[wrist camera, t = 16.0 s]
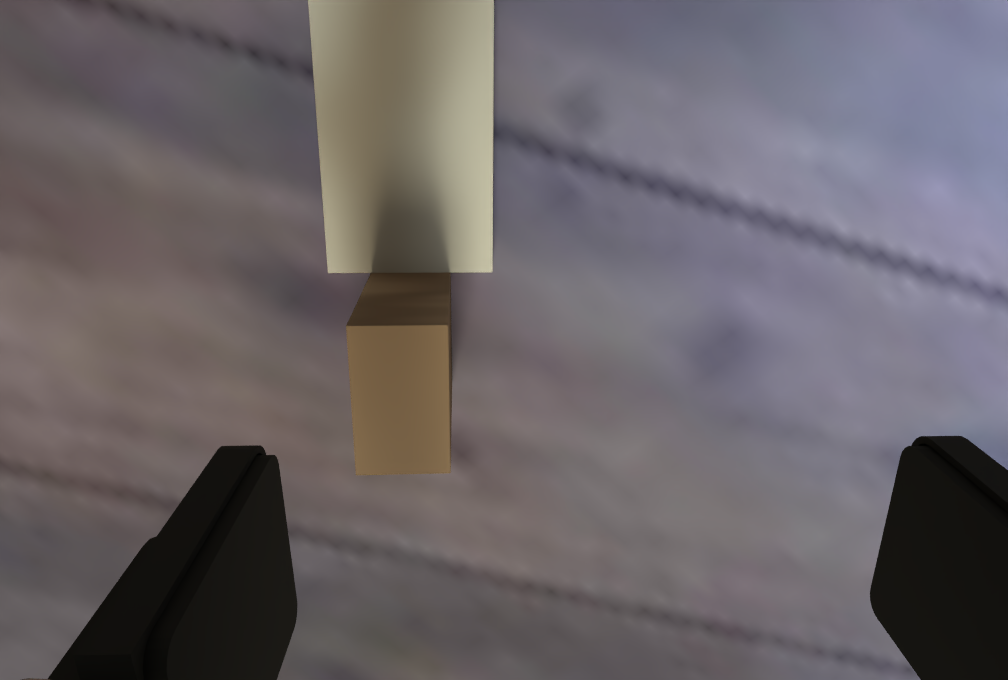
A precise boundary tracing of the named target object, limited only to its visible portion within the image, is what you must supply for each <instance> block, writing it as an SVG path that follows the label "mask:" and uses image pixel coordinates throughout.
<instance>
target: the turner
mask: <svg viewBox="0 0 1008 680" xmlns="http://www.w3.org/2000/svg"><path fill="white" fill-rule="evenodd" d="M308 5H309V19H310V32H311V46H312V60H313V73H314V87H315V101H316V114H317V128H318V142H319V155H320V169H321V183H322V196H323V210H324V224H325V237H326V251H327V265H328V273H371V274H370V277H369V279H368V281H367V283H366V285H365V287H364V289H363V291H362V294H361V296H360V298H359V300H358V302H357V304H356V306H355V308H354V311H353V313H352V315H351V317H350V319H349V321H348V323H347V325H346V331H347V346H348V361H349V376H350V391H351V407H352V422H353V437H354V452H355V467H356V475H387V474H433V473H450V471H451V413H452V347H451V278H450V272H492V246H493V68H494V0H308Z"/></svg>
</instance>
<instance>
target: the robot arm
mask: <svg viewBox="0 0 1008 680" xmlns="http://www.w3.org/2000/svg"><path fill="white" fill-rule="evenodd" d="M870 601H871V605H872V609H873V611H874V613H875V615H876V617H877V619H878V620H879V621H880V623H881V624H882V626H883V627H884V628H885V630H886V631H887V633H888V634H889V635H890V637H891V638H892V640H893V641H894V642H895V644H896V645H897V647H898V648H899V649H900V651H901V652H902V654H903V655H904V656H905V658H906V659H907V661H908V662H909V663H910V665H911V666H912V668H913V669H914V671H915V672H916V673H917V675H918V676H919V678H920V679H921V680H1008V470H1007V469H1005V468H1004V467H1003V466H1001V465H1000V464H999V463H997V462H996V461H995V460H994V459H992V458H991V457H990V456H988V455H987V454H986V453H984V452H983V451H982V450H981V449H979V448H978V447H977V446H975V445H974V444H973V443H971V442H970V441H969V440H968V439H966V438H964V437H962V436H921V437H919V438H917V439H916V440H915V441H914V442H913V443H912V446H908V447H906V448H905V449H904V450H903V451H902V454H901V457H900V461H899V465H898V470H897V474H896V479H895V483H894V487H893V492H892V496H891V501H890V505H889V510H888V514H887V518H886V523H885V527H884V532H883V536H882V541H881V545H880V549H879V554H878V558H877V563H876V567H875V571H874V576H873V580H872V585H871V590H870ZM296 617H297V597H296V589H295V582H294V574H293V567H292V559H291V552H290V544H289V537H288V529H287V522H286V514H285V507H284V499H283V492H282V484H281V477H280V469H279V463H278V459H277V457H276V456H275V455H266V453H265V450H264V448H263V447H262V446H221V447H220V448H219V449H218V450H217V452H216V453H215V454H214V456H213V457H212V459H211V460H210V461H209V463H208V464H207V466H206V467H205V469H204V470H203V471H202V473H201V474H200V476H199V477H198V479H197V480H196V481H195V483H194V484H193V486H192V487H191V488H190V490H189V491H188V493H187V494H186V496H185V497H184V498H183V500H182V501H181V503H180V504H179V506H178V507H177V508H176V510H175V511H174V513H173V514H172V515H171V517H170V518H169V520H168V521H167V523H166V524H165V525H164V527H163V528H162V530H161V531H160V533H159V534H158V535H157V537H154V538H151V539H149V540H148V541H147V543H146V544H145V545H144V546H143V547H142V548H141V550H140V551H139V552H138V554H137V555H136V557H135V558H134V559H133V561H132V562H131V564H130V565H129V566H128V568H127V569H126V571H125V572H124V573H123V575H122V576H121V577H120V579H119V580H118V582H117V583H116V584H115V586H114V587H113V589H112V590H111V591H110V593H109V594H108V596H107V597H106V598H105V600H104V601H103V603H102V604H101V605H100V607H99V608H98V610H97V611H96V612H95V614H94V615H93V616H92V618H91V619H90V621H89V622H88V623H87V625H86V626H85V628H84V629H83V630H82V632H81V633H80V635H79V636H78V637H77V639H76V640H75V642H74V643H73V644H72V646H71V647H70V649H69V650H68V651H67V653H66V654H65V655H64V657H63V658H62V660H61V661H60V662H59V664H58V665H57V667H56V668H55V669H54V671H53V672H52V674H51V675H50V676H49V678H48V679H33V678H27V679H22V680H277V677H278V674H279V671H280V668H281V665H282V663H283V660H284V657H285V654H286V651H287V648H288V645H289V642H290V639H291V636H292V633H293V630H294V627H295V623H296Z"/></svg>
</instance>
